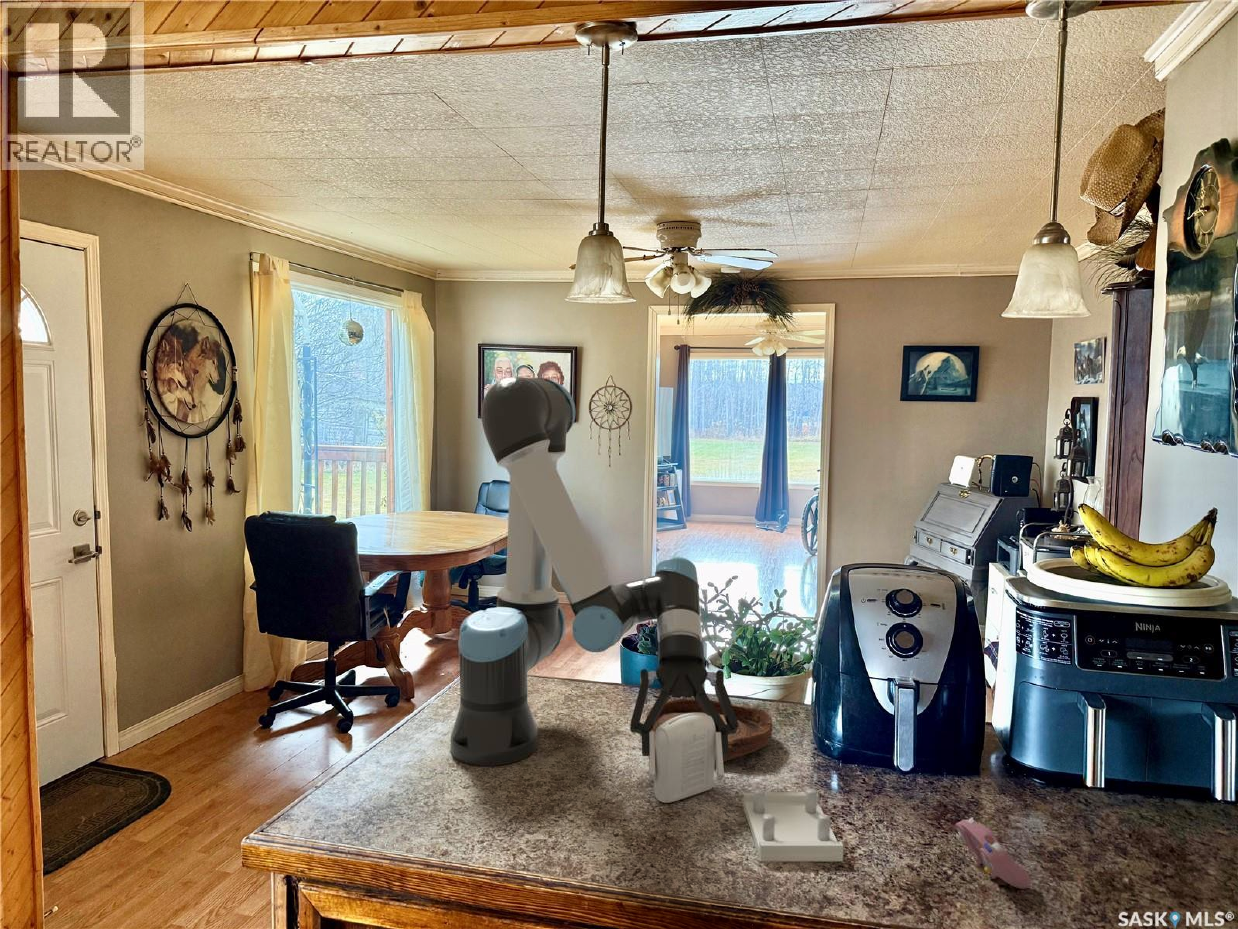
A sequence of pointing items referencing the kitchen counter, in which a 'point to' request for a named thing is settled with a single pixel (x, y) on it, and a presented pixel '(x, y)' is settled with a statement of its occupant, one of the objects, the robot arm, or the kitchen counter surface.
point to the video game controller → (991, 853)
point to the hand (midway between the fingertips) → (686, 777)
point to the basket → (750, 719)
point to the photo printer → (684, 757)
